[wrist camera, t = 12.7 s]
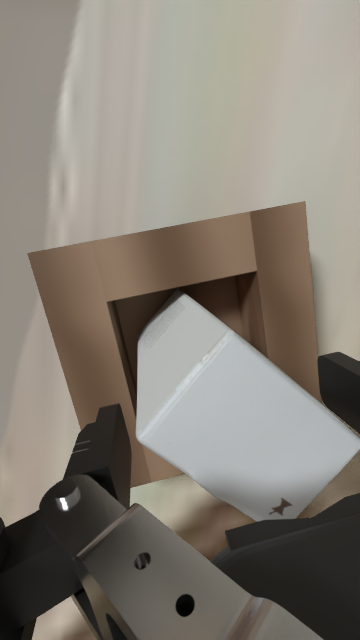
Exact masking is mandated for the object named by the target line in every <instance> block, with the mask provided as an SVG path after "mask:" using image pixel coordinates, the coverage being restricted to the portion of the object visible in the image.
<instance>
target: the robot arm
mask: <svg viewBox="0 0 360 640" xmlns="http://www.w3.org/2000/svg"><path fill="white" fill-rule="evenodd" d="M317 365H318V377H319V389H320V395H321V398H322V400H323V402H324V404H325V405H326V407H327V408H329V409H330V410H331V411H332V412H334V413H335V414H336V415H337V416H338V417H340V418H341V419H342V420H343V421H345V422H346V423H347V424H348V425H349V426H351V427H352V428H353V429H354V430H356V431H357V432H358V433H359V434H360V361H357V360H355V359H353V358H351V357H349V356H347V355H345V354H343V353H341V352H335V353H330V354H326V355H322V356H319V357H318V360H317ZM72 452H73V453H72V454H71V457H70V460H69V463H68V466H67V469H66V472H65V474H64V477H63V480H61V481H59V482H58V483H56V484H55V485H54V486H52V487H51V488H50V489H49V490H48V491H47V492H46V493H45V495H44V496H43V498H42V499H41V502H40V504H39V510H38V511H36V512H35V513H33V514H31V515H29V516H27V517H25V518H23V519H21V520H19V521H17V522H15V523H13V524H11V525H9V526H7V527H5V525H4V522H3V520H2V518H0V640H32V636H33V632H34V627H35V623H36V619H37V617H38V616H40V615H42V614H43V613H45V612H46V611H48V610H49V609H51V608H53V607H54V606H56V605H57V604H59V603H60V602H62V601H64V600H65V599H67V598H68V597H70V596H71V597H72V599H73V601H74V602H75V604H76V606H77V607H78V609H79V611H80V612H81V614H82V616H83V617H84V619H85V621H86V622H87V624H88V626H89V627H90V629H91V631H92V632H93V634H94V636H95V637H96V639H97V640H360V493H359V494H355V495H351V496H348V497H345V498H343V499H342V500H340V501H338V502H337V503H335V504H334V505H332V506H330V507H329V508H327V509H326V510H324V511H323V512H321V513H319V514H318V515H316V516H314V517H312V518H303V519H274V520H262V521H259V522H255V523H252V524H248V525H245V526H241V527H238V528H234V529H230V530H227V531H225V534H226V539H227V544H228V547H227V548H225V549H224V550H222V551H221V552H219V553H218V554H217V555H216V556H215V557H213V558H212V559H211V560H210V561H208V560H207V559H206V558H205V557H204V556H202V555H201V554H200V553H199V552H197V551H196V550H195V549H194V548H193V547H191V546H190V545H189V544H188V543H186V542H185V541H184V540H183V539H182V538H180V537H179V536H178V535H177V534H175V533H174V532H173V531H172V530H171V529H169V528H168V527H167V526H166V525H164V524H163V523H162V522H161V521H160V520H158V519H157V518H156V517H155V516H154V515H152V514H151V513H150V512H149V511H147V510H146V509H145V508H144V507H142V506H141V505H140V504H137V503H134V504H133V505H132V506H131V507H130V484H131V462H132V451H131V444H130V439H129V435H128V431H127V427H126V424H125V420H124V416H123V412H122V409H121V406H120V404H119V403H117V404H113V405H109V406H105V407H100V408H99V411H98V414H97V418H96V422H94V423H90V424H87V425H86V426H85V427H84V428H83V429H82V431H81V432H80V433H79V434H78V437H77V440H76V443H75V446H74V449H73V451H72Z"/></svg>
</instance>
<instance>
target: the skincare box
mask: <svg viewBox="0 0 360 640" xmlns="http://www.w3.org/2000/svg"><path fill="white" fill-rule="evenodd" d="M136 438H137V440H138V441H139V442H140V443H141V444H142V445H144V446H145V447H147V448H148V449H150V450H151V451H153V452H154V453H156V454H157V455H159V456H160V457H162V458H163V459H165V460H166V461H168V462H169V463H170V464H172V465H173V466H175V467H176V468H178V469H179V470H181V471H183V472H184V473H185V474H187V475H188V476H190V477H191V478H192V479H193V480H194V481H196V482H197V483H198V484H199V485H200V486H201V487H203V488H204V489H205V490H207V491H208V492H209V493H211V494H212V495H214V496H215V497H217V498H218V499H220V500H222V501H224V502H227V503H229V504H231V505H232V506H234V507H235V508H237V509H238V510H240V511H241V512H243V513H245V514H246V515H248V516H250V517H251V518H252V519H254V520H255V521H257V522H259V521H262V520H274V519H295V518H296V517H297V516H298V515H299V514H300V513H301V512H302V511H303V510H304V509H305V508H306V507H307V506H308V505H309V503H310V502H311V501H312V500H313V499H314V498H315V497H316V496H317V495H318V494H319V493H320V492H321V491H322V490H323V489H324V488H325V487H326V486H327V485H328V484H329V483H330V482H331V480H332V479H333V478H334V477H335V476H336V475H337V474H338V473H339V472H340V471H341V470H342V469H343V468H344V467H345V466H346V465H347V463H348V462H349V461H350V460H351V459H352V458H353V457H354V455H355V454H356V453H357V452H358V451H359V450H360V438H359V437H358V436H357V435H356V434H355V433H354V432H352V431H351V430H350V429H349V428H348V427H347V426H346V425H345V424H344V423H343V422H342V421H341V420H339V419H338V418H337V417H336V416H335V415H334V414H333V413H332V412H331V411H329V410H328V409H327V408H326V407H325V406H324V405H323V404H321V403H320V402H319V401H318V400H317V399H315V398H314V397H313V396H312V395H311V394H309V393H308V392H307V391H306V390H305V389H303V388H302V387H301V386H300V385H299V384H297V383H296V382H295V381H294V380H293V379H292V378H290V377H289V376H288V375H287V374H286V373H284V372H283V371H282V370H281V369H280V368H278V367H277V366H276V365H275V364H274V363H272V362H271V361H270V360H269V359H268V358H266V357H265V356H264V355H263V354H261V353H260V352H259V351H258V350H257V349H255V348H254V347H253V346H252V345H251V344H249V343H248V342H247V341H246V340H244V339H243V338H242V337H241V336H239V335H238V334H237V333H236V332H234V331H233V330H232V329H231V328H229V327H228V326H227V325H226V324H224V323H223V322H222V321H220V320H219V319H218V318H217V317H215V316H214V315H213V314H211V313H210V312H209V311H208V310H206V309H205V308H204V307H202V306H201V305H200V304H199V303H197V302H196V301H195V300H193V299H192V298H191V297H189V296H188V295H187V294H185V293H184V292H183V291H181V290H180V289H176V290H175V291H174V292H173V294H172V295H171V296H170V297H169V299H168V300H167V301H166V302H165V303H164V304H163V305H162V307H161V308H160V309H159V310H158V311H157V312H156V313H155V315H154V316H153V317H152V318H151V319H150V320H149V322H148V323H147V324H146V325H145V326H144V327H143V329H142V330H141V331H140V332H139V334H138V368H137V418H136Z"/></svg>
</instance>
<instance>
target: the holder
mask: <svg viewBox="0 0 360 640" xmlns="http://www.w3.org/2000/svg"><path fill="white" fill-rule="evenodd" d="M28 257H29V260H30V263H31V266H32V269H33V273H34V276H35V279H36V283H37V286H38V290H39V293H40V296H41V299H42V303H43V306H44V309H45V313H46V316H47V319H48V323H49V326H50V329H51V332H52V336H53V339H54V342H55V346H56V349H57V352H58V356H59V359H60V362H61V365H62V369H63V372H64V375H65V379H66V382H67V385H68V389H69V392H70V395H71V398H72V402H73V405H74V408H75V412H76V415H77V418H78V422H79V425H80V428H81V431H82V429H83V428H84V427H85V426H86V425H87V424H90V423H94V422H96V418H97V414H98V411H99V408H100V407H105V406H109V405H113V404H117V403H119V404H120V406H121V409H122V412H123V416H124V420H125V424H126V427H127V431H128V435H129V439H130V444H131V451H132V462H131V484H130V488H132V487H136V486H140V485H143V484H147V483H151V482H155V481H158V480H162V479H166V478H170V477H173V476H177V475H181V474H185V473H184V472H183V471H181V470H179V469H178V468H176V467H175V466H173V465H172V464H170V463H169V462H168V461H166V460H165V459H163V458H162V457H160V456H159V455H157V454H156V453H154V452H153V451H151V450H150V449H148V448H147V447H145V446H144V445H142V444H141V443H140V442H139V441H138V440H137V438H136V418H137V368H138V334H139V332H140V331H141V330H142V329H143V327H144V326H145V325H146V324H147V323H148V322H149V320H150V319H151V318H152V317H153V316H154V315H155V313H156V312H157V311H158V310H159V309H160V308H161V307H162V305H163V304H164V303H165V302H166V301H167V300H168V299H169V297H170V296H171V295H172V294H173V292H174V291H175V290H176V289H180V290H181V291H183V292H184V293H185V294H187V295H188V296H189V297H191V298H192V299H193V300H195V301H196V302H197V303H199V304H200V305H201V306H202V307H204V308H205V309H206V310H208V311H209V312H210V313H211V314H213V315H214V316H215V317H217V318H218V319H219V320H220V321H222V322H223V323H224V324H226V325H227V326H228V327H229V328H231V329H232V330H233V331H234V332H236V333H237V334H238V335H239V336H241V337H242V338H243V339H244V340H246V341H247V342H248V343H249V344H251V345H252V346H253V347H254V348H255V349H257V350H258V351H259V352H260V353H261V354H263V355H264V356H265V357H266V358H268V359H269V360H270V361H271V362H272V363H274V364H275V365H276V366H277V367H278V368H280V369H281V370H282V371H283V372H284V373H286V374H287V375H288V376H289V377H290V378H292V379H293V380H294V381H295V382H296V383H297V384H299V385H300V386H301V387H302V388H303V389H305V390H306V391H307V392H308V393H309V394H311V395H312V396H313V397H314V398H315V399H317V400H318V401H319V402H320V403H321V404H322V398H321V395H320V389H319V377H318V365H317V360H318V350H317V338H316V326H315V313H314V301H313V289H312V277H311V265H310V253H309V241H308V229H307V217H306V204H305V201H304V202H299V203H294V204H288V205H283V206H278V207H272V208H267V209H261V210H256V211H251V212H245V213H240V214H235V215H229V216H224V217H219V218H213V219H208V220H203V221H197V222H192V223H187V224H181V225H176V226H171V227H165V228H160V229H155V230H149V231H144V232H138V233H133V234H128V235H122V236H117V237H112V238H106V239H101V240H96V241H90V242H85V243H80V244H74V245H69V246H64V247H58V248H53V249H48V250H42V251H37V252H31V253H28Z"/></svg>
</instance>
